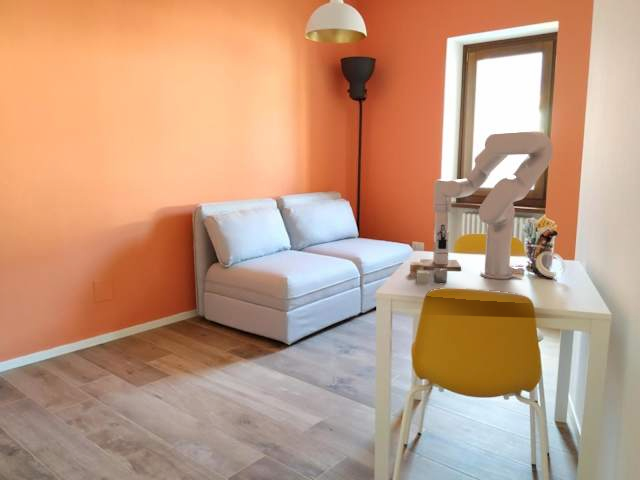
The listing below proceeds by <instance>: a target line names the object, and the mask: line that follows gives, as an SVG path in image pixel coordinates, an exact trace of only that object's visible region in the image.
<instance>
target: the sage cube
mask: <svg viewBox="0 0 640 480" xmlns="http://www.w3.org/2000/svg"><path fill="white" fill-rule="evenodd" d="M428 280H429V272H428V270H423V271H419V270H417V277H416V282H417V283H419V284H420V283H421V284H428Z"/></svg>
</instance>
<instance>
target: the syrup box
mask: <svg viewBox="0 0 640 480" xmlns="http://www.w3.org/2000/svg"><path fill="white" fill-rule="evenodd" d="M449 233H450V232H449V231H448V232H447V234H446V249H439V248H438V243H439V234H437V235H436V234H435V231H434V230H433V256H432V257H433V258H432V259H433V261H434V263H435V264H448V260H449V243H450V242H449V241H450V239H449V237H450V236H449V235H450V234H449Z"/></svg>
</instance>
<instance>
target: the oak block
mask: <svg viewBox="0 0 640 480" xmlns="http://www.w3.org/2000/svg"><path fill="white" fill-rule="evenodd" d="M417 270H419V271H424V270H423V262H421V261H420V262H419V261H415V262H414V261H410V263H409V275H410V277H416V278H417Z"/></svg>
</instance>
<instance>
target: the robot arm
mask: <svg viewBox="0 0 640 480" xmlns="http://www.w3.org/2000/svg"><path fill="white" fill-rule="evenodd" d="M509 155H510V156H512V155H527V157H526V158H525V159H524V160H523V161H522V162H521V163H520V164H519V166H518V167H517V168H516V170H515V171H514V173H513V174H511V175H510V176H509V177H504V178H502V179H500V180H499V181H498V182H497V183H496V184H495V185H494V186H493V187H492V189H491V190H490V191H489V193H488V195H486V197H485V198H484V200H483V201H482V202H481V204H480V207H479V208H478V216H479V219H480V221H481V222H482V223H483V224H485V225H487V229H486V239H485V258H484V269H483V270H481V271H480V275H481V277H484V278H488V279H496V280H506V279H511V278H514V274H513V273H522V272H523V271H522V270H523V269H522V267H517V266H512V265H511V262H510V261H511V247H512V237H513V235H512V234H513V233H512V232H513V224H514V220H515V215H516V214H515V213H516V212H515V211H516V210H515V206H514V203H515V202H517V201H521V200H523V199H525V198H526V197H527V195H528V193H529V192H530V190H531V189H532V188H533V187H534V185H535V184H536V183H537V182H538V180H539V178H540V177H541V176H542V175H543V173H544V172H545V171H546V170H547V168H548V166H549V165H550V163H551V161H552V158H553V155H554V147H553V142H552V140H551V139H550V137H549V136H548V135H547V134H546V133H544V132H542V131H538V130H518V131H506V132H494V133H491V134H489V136H488V137H487V138H486V140H485V141H484V149H483V150H481V152H480V153H478V154H477V156H476V157H475V158H474V163H475V165H474V167H473V169H472V170H471V171H470V172H469V173H468V174H467V175H466V176H465V177H464V178H462V179H461V178H460V179H452V180H451V179H447V178H445V179H442V178H440V179H436V180H435V181H434V182H433V183H434V184H433V209H432V210H433V212H435V213H434V226H433V232H434V231H435V234H436V235H437V234H439V243H438V248H439V249H446V234H447V232H449V231H448V229H449V213H450V212H452V200H453V199H458V198H459V199H460V198H465V197H469V196H471V195H473V194H474V193H475V192H476V191H477V190H479V189H480V188H481V186H482V185H483V184H484V183H485V182H487V180H488V179H489V176H490V175H491V174H492V172H493V171H494V170H495V169H496V168H497V167H498V166H499V165H500V164H501V163H502V162H503V161H504V160H505V159H506V158H508V156H509ZM452 198H453V199H452Z"/></svg>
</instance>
